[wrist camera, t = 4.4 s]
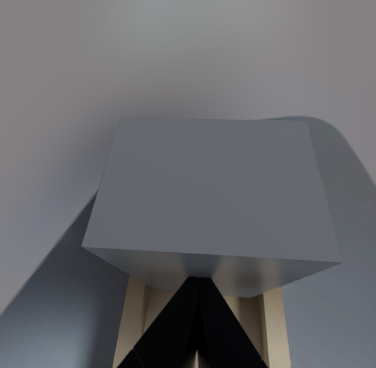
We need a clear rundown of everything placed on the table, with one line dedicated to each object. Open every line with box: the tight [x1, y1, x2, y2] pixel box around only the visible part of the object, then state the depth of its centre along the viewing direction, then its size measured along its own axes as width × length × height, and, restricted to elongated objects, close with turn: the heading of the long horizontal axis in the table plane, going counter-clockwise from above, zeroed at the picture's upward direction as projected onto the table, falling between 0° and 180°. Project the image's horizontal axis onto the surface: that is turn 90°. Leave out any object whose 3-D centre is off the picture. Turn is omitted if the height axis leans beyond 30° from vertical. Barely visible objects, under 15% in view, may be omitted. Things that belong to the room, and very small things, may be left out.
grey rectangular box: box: [81, 118, 343, 298], centre depth 10 cm, size 4×6×10 cm
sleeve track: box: [112, 275, 291, 368], centre depth 13 cm, size 18×9×6 cm, turn 176°
